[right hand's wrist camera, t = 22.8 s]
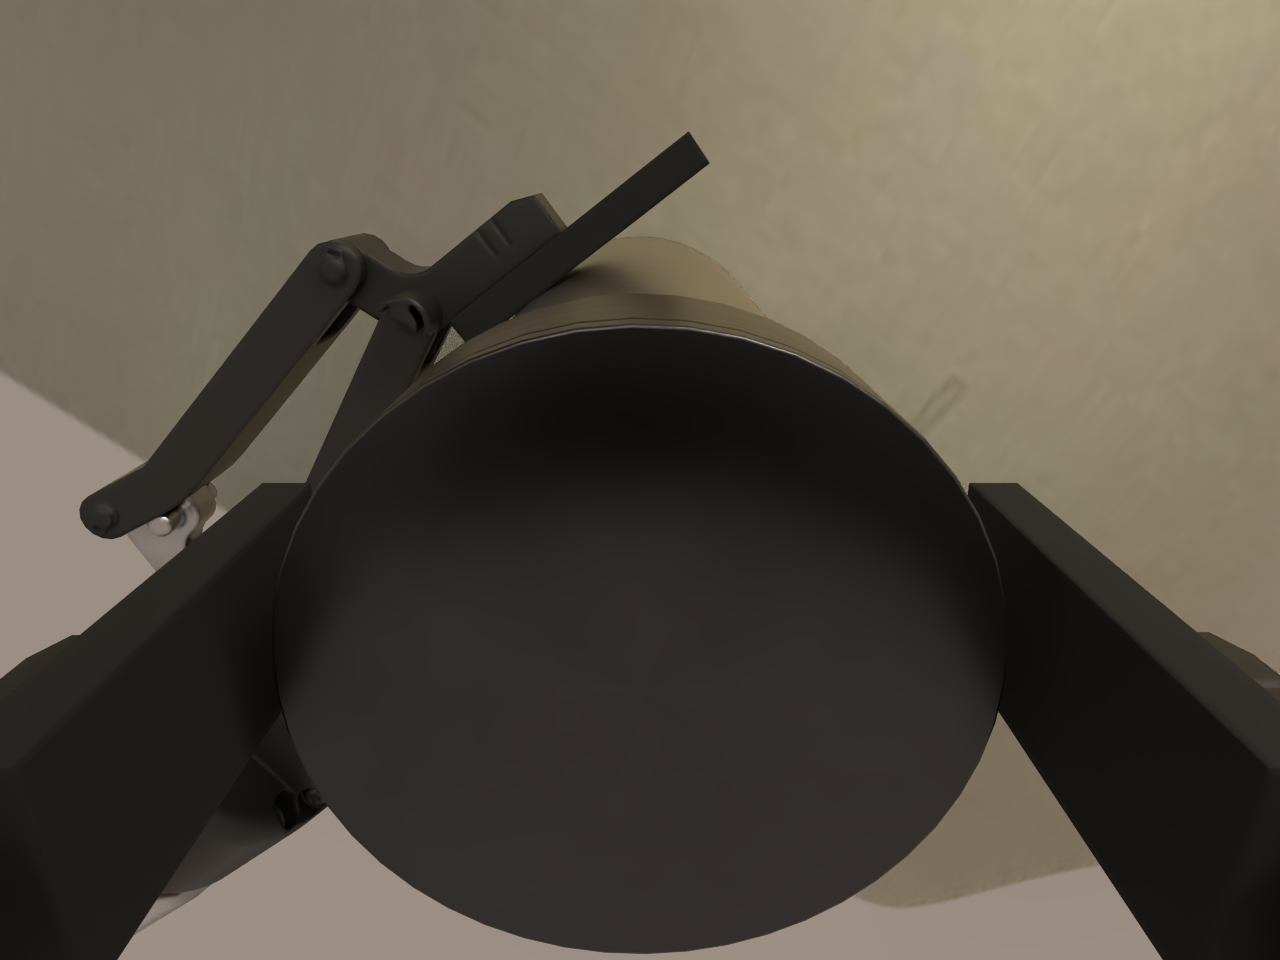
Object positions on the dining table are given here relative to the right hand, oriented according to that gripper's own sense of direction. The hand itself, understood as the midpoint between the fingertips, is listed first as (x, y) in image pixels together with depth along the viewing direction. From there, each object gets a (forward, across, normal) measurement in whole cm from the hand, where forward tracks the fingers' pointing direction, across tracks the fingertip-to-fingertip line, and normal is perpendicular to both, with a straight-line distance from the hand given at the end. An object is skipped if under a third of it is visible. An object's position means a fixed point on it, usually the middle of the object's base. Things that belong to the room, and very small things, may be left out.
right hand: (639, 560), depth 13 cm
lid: (-3, 0, 0) cm, 3 cm away
